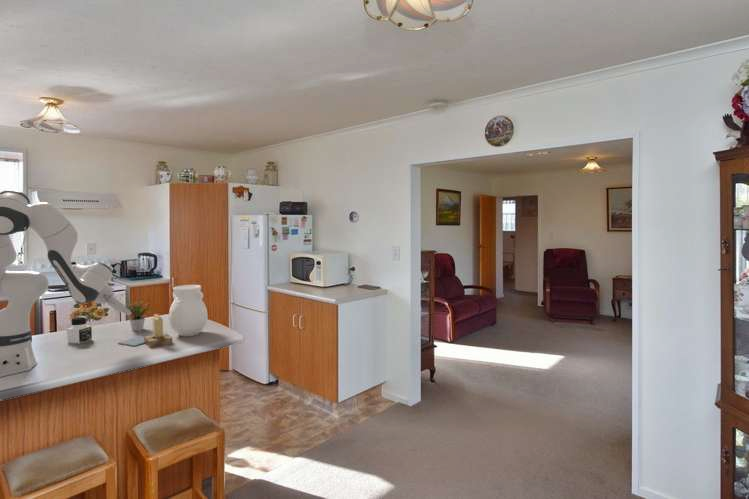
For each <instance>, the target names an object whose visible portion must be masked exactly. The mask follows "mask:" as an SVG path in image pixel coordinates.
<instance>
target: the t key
mask: <svg viewBox="0 0 749 499" xmlns="http://www.w3.org/2000/svg"><path fill="white" fill-rule="evenodd" d="M163 321H164V320H163V318H162V316H161V315H159V314H158V313H155V314H153V318H152V335H153V339H158V338H163V334H164V324H163V323H164V322H163Z"/></svg>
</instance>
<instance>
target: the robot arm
mask: <svg viewBox="0 0 749 499" xmlns="http://www.w3.org/2000/svg"><path fill="white" fill-rule="evenodd" d="M30 228H31V229H32V230H33V231H34V232H35V233H36V234H37V235H38V236H39V237H40V238H41V240H42V241H43V242H44V244H45V247H46V249H47V250H46V251H47V258H48V261H49V263H50V264H51V266H52V267H53V269H54V270H55V272H56V273H57V275H58V276H59V277H60V279H61V280H62V282H63V284H64V285H65V286H66V288H67V290H68V293H69V295H70V296H71V298H72V299H73V300H74V301H76V302H78V303H79V304H89V303H92V302H95V303H96V304H98V305H99V304H101V303H102V304H103V305H105V304H107V305H108V306H110V307H111V308H113V309H114V310H116V312H118V313H120V314H121V313H123V314H126V315H127V316H129V317H130V316H132V315H133V314H132V313H131V312H130V311H129V310H130V309H129V308H128V307H127V305H126V304H124V303H123V302H122V301H121V300H120V299H119V298H118V297H117V296H116V295H115V291H114V288H113V287H112V286H110V284H109V283H110V281H111V279H112V278H113V276H114V272H113V270H112V269H111V267H110V266H109V265H107V264H106V263H104V262H94V263H92V264H89V265H81V264H76V265H74V266H73V264H72V256H73V251H74V249H75V247H76V245H77V243H78V239H79V234H78V231H77V229H76V228H75V226H74V225H73V223H72V222H70V220H69V219H68V218H67V217H66V216H65V215H64V214H63V213H62V212H61V211H60V209H57V208H56V207H55V206H54V205H53V204H51V203H49V202H37V203H35V204H31V201H30V198H29V197H28V195H27V194H26V193H24V192H22V191H21V190H18V189H10V188H9V189H6V190H3V191H0V300H8V303H7V306H6V307H3V308H2V309H0V378H1V377H5V376H10V375H15V374H19V373H23V372H27V371H30V370H32V369H33V368H34V366H36V365H37V364H38V361H37V360H36V358H35V354H34V351H33V346H32V343H33V334H32V329H31V310H32V308H33V305H34V304H35V302H36V301H37V300H38V299H39V298H40V297H42V296H43V295H44V294H45V293H46V292H47V290H48V289H49V279H48V277H47V276H46V275H45V274H44V273H43V272H38V271H31V270H9V269H7V268H8V267H10V266H11V265H12V264H14V263H15V261H16V260H17V252H16V249H15V247H14V244H13V242H12V239H11V237H10V235H12V234H16V233H19V232H21V233H22V232H25V231H27V230H28V229H30ZM125 305H126V306H125ZM131 314H132V315H131Z"/></svg>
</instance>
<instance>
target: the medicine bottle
mask: <svg viewBox="0 0 749 499" xmlns="http://www.w3.org/2000/svg"><path fill="white" fill-rule="evenodd" d="M70 321H71V322H70V323H71V327H68V328H67V327H66V334H67V337H66V338H67V343H68V344H76V343H77V345H78V344H83V343H87V342H89V341H91V340H92V339H93V334H92V333H93V332H92V331H93V330H92V325H88V324H87V323H88V322H87V316H84V315H83V316H81V315H80V316H75V317H72V318H71V319H70Z"/></svg>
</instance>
